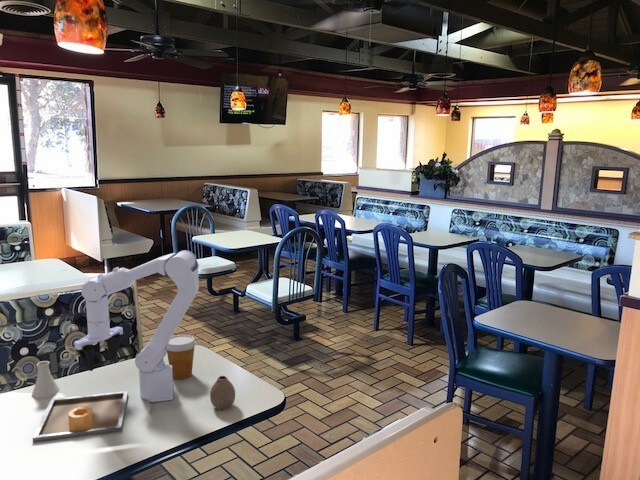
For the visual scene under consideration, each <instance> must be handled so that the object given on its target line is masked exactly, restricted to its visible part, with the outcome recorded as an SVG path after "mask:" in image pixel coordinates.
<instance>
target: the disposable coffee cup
mask: <svg viewBox="0 0 640 480" xmlns="http://www.w3.org/2000/svg"><path fill="white" fill-rule="evenodd" d="M196 344H197V341H196V340H195V337H194V336H193V335H188V334H178V335H177V334H176V335H172V337H171V339H170V341H169V343H168V345H167V353H166V355H167V361H168V365H172V373H173V380H175V381H176V380H177V381H183V380H186V379H189V378H191V377H192V375H193V366H194V355H195V346H196Z"/></svg>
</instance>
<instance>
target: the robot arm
mask: <svg viewBox="0 0 640 480" xmlns="http://www.w3.org/2000/svg"><path fill="white" fill-rule="evenodd" d="M199 269H200V264H199V261H198V260H197V256H196V255H195V254H194V253H193V252H192V251H189V250H187V249H185V250H180V251H179V252H177V253H176V252H172V253H169V254H165V255H162V256H159V257H157V258H155V259H152V260H150V261H147V262H146V263H143V264H141V265H138V266H136V267H134V268H131V269H128V268H125V267H120V268H119V266H117V267H114V268H113V269H112V271H111V272H107V273H105V274H103V273H101V274H98V275H97V276H95V277H93V278H92V279H90V280H88V281H87V282H85V283H83V285H82V286H81V289H80V290H81V291H80V292H81V295H82V297H83V299H85V309H86V320H87V335H85V336H84V337H82V338H80V339H78V340H77V341H74V342H73V343H74V349H75V351H77V353H78V355H79V356H80V357H81V359H82V361H83V364H84V366H85V369H86V371H89V372H92V371H94V356H95V350H96V349H95V348H93V347H92V346H91V345H93V344H97V343H99V342H101V341H105V342H106V346H107V355H108V359H109V361H110V362H111V361H112V362H115V361H117V357H118V356H117V355H118V353H119V349H120V346H121V344H122V342H123V341H124V336H122V335H124V330H123V327H122V326H115V327H112V328H110V327H111V326H110V311H109V310H110V309H109V298H108V297H109V296H108V295H113V294H115V293H117V292H119V291H122V290H125V289H128V288H130V287H131V286H132V285H133V283H134V281H136V280H139V279H142V278H144V277H148V276H151V275H154V274H157V273H158V274H160V275H162V276H166V275H167V276H168V277H169V278H170V280H172V282H173V283H174V284H175V286H176V287H177V294H175V297H174V298H173V301H172V302H171V304H170V305H169V307H168V309H167V310H166V311H165V312H166V313H165V314H164V316H163V317H162V320H161V321H160V322H159V325H158V327H157V329H156V330H155V332H154V333H153V335H152V337H151V339H149V341H148V342H147V343H146V345H145V347H143V349H142V350H140V352H138V353H137V355H136V356H135V359H134V363H135V366H136V368H137V370H138V376H139V395H140V398H141V399H143V400H147V401H148V403H156V402H164V401H172V400H174V390H175V383H174V379H173V373H172V365H169V364H166V362H165V359H164V358H165V357H166V355H167V345H168V343H169V341H170V339H171V337H172V336H174V334H175V332H176V330H177V329H178V327H179V324H180V323H181V321H182V320H183V318H184V316H185V314H186V312H187V311H188V309H189V307H190V306H191V304H192V302H193V300H194V299H195V297H196V295H197V294H198V292H199V289H200V284H199V283H200V282H199Z"/></svg>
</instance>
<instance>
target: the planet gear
mask: <svg viewBox="0 0 640 480" xmlns="http://www.w3.org/2000/svg"><path fill="white" fill-rule="evenodd" d="M68 418H69V430H71V431H78V430H86V429H89V428H91V427H92V425H93V415H92V408H89V407H87V406H86V407H78V408H75V409H73V410H71V411H70V412H69V415H68Z"/></svg>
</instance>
